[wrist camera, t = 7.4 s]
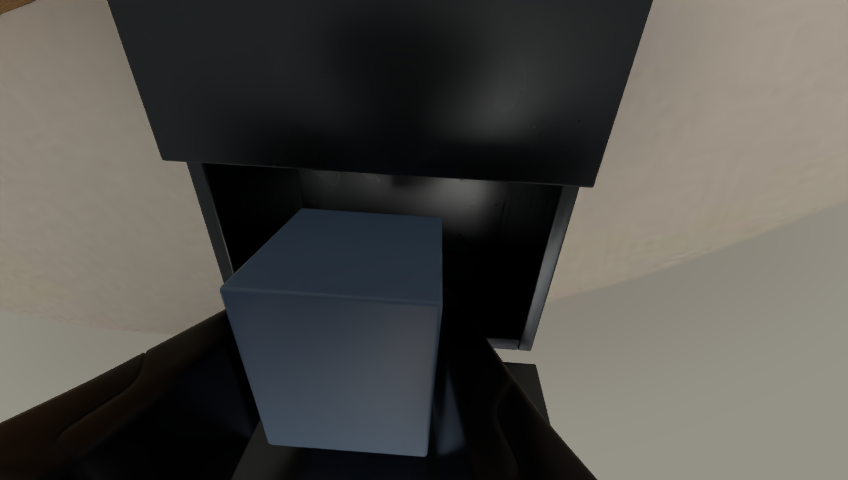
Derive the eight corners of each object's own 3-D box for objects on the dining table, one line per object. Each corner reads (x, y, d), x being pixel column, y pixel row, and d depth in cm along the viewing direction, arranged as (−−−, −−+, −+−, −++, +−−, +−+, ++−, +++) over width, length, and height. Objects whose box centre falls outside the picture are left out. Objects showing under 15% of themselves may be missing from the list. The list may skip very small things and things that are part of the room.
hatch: (536, 363, 11) (533, 369, 11) (226, 341, 11) (230, 347, 11) (612, 678, 6) (603, 676, 6) (45, 625, 6) (59, 625, 6)
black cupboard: (501, 259, 17) (537, 369, 11) (304, 245, 17) (224, 346, 11) (562, -52, 11) (728, -221, 5) (257, -67, 11) (16, -248, 5)
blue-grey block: (431, 342, 10) (427, 458, 7) (318, 334, 10) (267, 446, 7) (442, 216, 8) (443, 304, 5) (301, 207, 8) (215, 287, 5)
